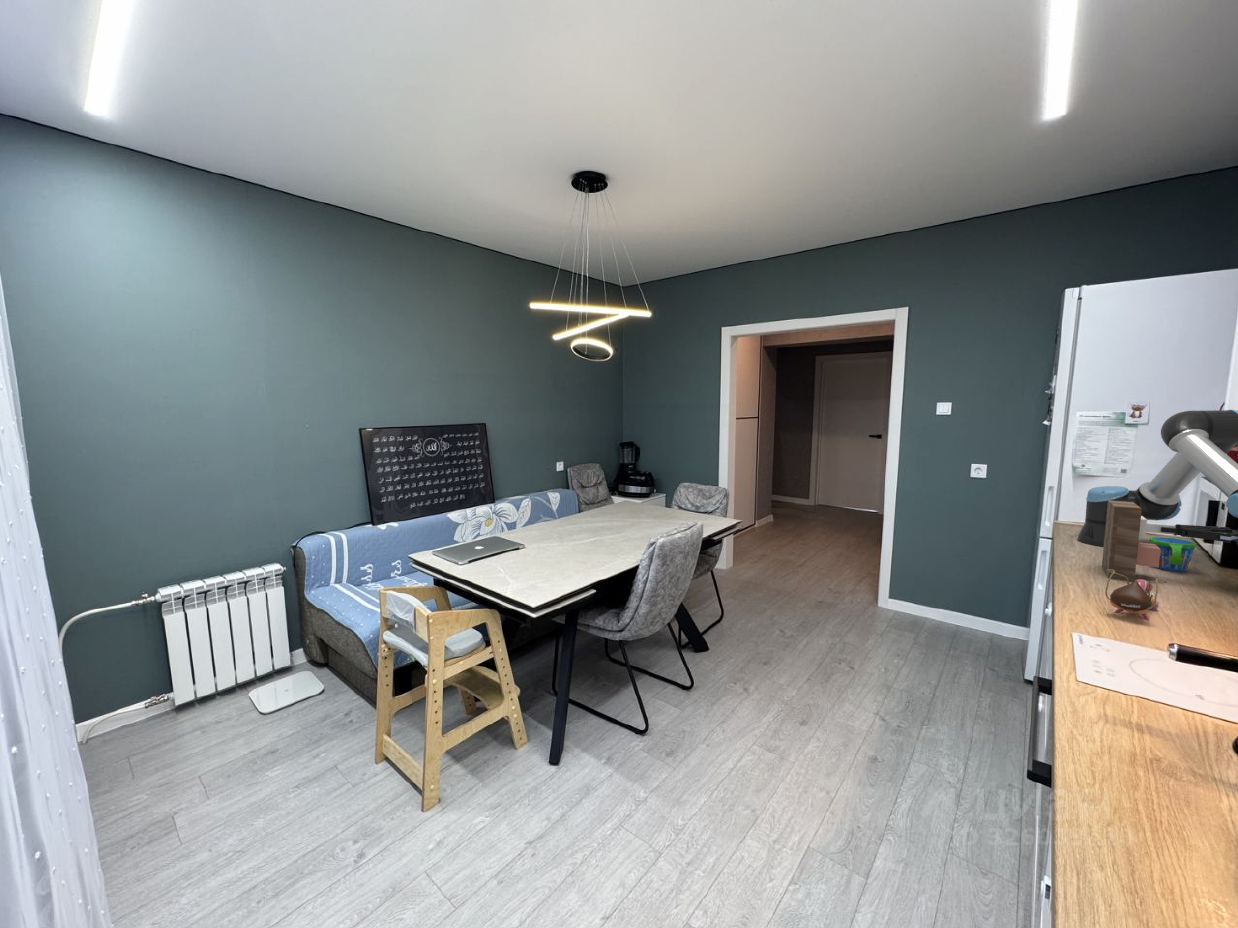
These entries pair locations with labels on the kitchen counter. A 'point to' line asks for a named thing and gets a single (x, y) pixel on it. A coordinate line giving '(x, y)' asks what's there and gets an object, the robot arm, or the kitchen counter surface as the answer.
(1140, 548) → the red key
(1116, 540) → the key panel
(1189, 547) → the snack cup
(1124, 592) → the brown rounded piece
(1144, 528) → the white key
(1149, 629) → the kitchen counter surface
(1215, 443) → the robot arm
